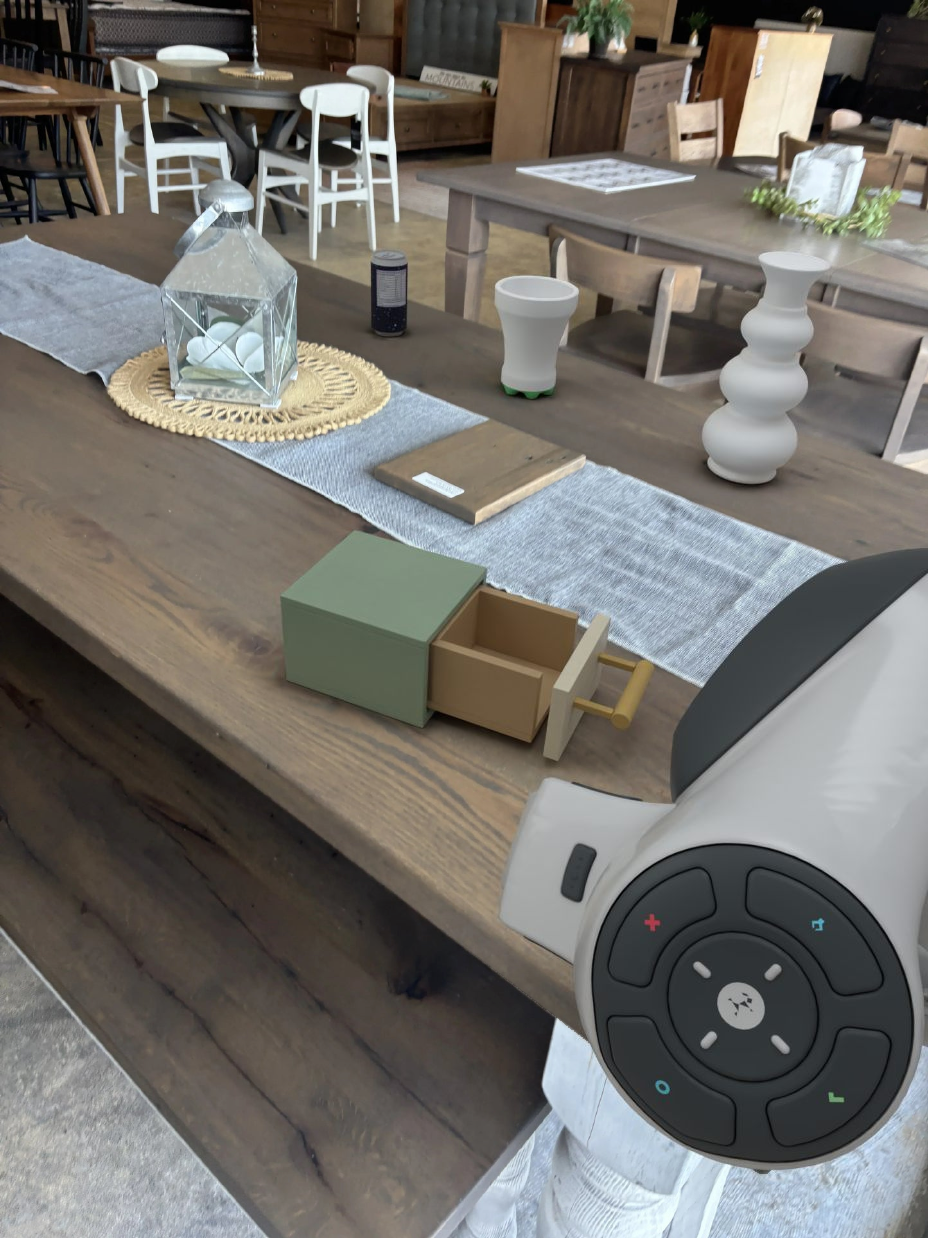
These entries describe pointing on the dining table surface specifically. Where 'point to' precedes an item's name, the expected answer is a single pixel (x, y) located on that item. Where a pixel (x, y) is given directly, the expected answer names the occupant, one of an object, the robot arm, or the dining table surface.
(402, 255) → the beverage can
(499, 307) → the cup
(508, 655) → the drawer
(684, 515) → the dining table surface
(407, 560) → the cabinet
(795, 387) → the vase
